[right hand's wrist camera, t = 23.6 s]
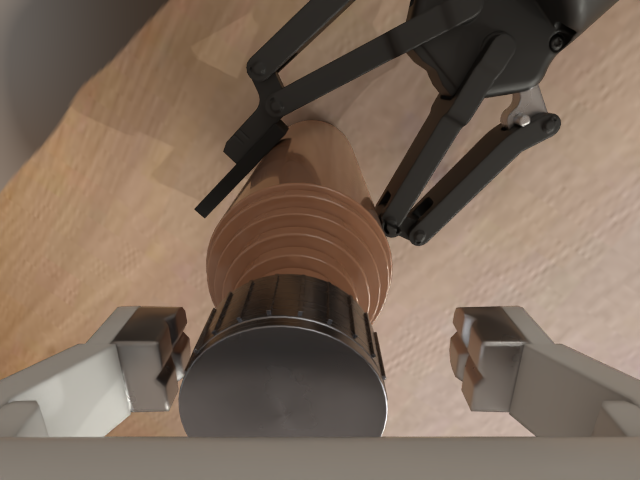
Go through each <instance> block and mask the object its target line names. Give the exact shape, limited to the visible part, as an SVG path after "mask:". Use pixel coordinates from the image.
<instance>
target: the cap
mask: <svg viewBox="0 0 640 480" xmlns="http://www.w3.org/2000/svg"><path fill="white" fill-rule="evenodd" d="M184 374H185V376H184V378H183V381H182V384H181V387H180V393H179V413H180V417H181V422H182V424H183V427H184V430H185V432H186V434H187V435H188V437H381V436H382V433H383V431H384V428H385V425H386V420H387V412H388V404H387V400H388V399H387V394H386V389H385V384H384V380H385V379H386V376H385V371H384V366H383V361H382V356H381V351H380V346H379V342H378V337H377V332H374V331H373V328H372V325H371V323H370V320H369V315H368V313H367V312H364V310H363V309H362V307H361V306H360V305H359V304H358V303H357V302H356V301H355V300H354V299H353V296H352V295H351V294H350V295H349V294H347V293H346V292H345V291H343V290H341V289H340V288H338V287H337V286H335V285H333V284H331V282H329V281H328V282H327V281H324V280H321V279H318V278H315V277H311V276H306V275H304V274H302V275H298V274H275V275H270V276H265V277H262V278H258V279H255V280H253V279H252V280H249V282H248V283H245V284H244V285H242V286H240V287H238V288H237V289H235V290H234V291H233V292H231V291H230V292H228V294H227V296H226V297H225V298H224V299H223V300H222V301H221V302H220V304H219V305H218V307H217V308H216V309H215V308H213V310H212V311H211V314H210V316H209V318H208V320H207V322H206V324H205V327H204V329H203V331H202V333H201V335H200V337H199V339H198V342H197V344H196V346H195V348H194V350H193V353H192V355H191V357H190V359H189V362H188V364H187V366H186V368H185V370H184Z"/></svg>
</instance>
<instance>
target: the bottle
mask: <svg viewBox="0 0 640 480" xmlns="http://www.w3.org/2000/svg"><path fill="white" fill-rule="evenodd" d="M288 128H289V129H288V131H287V133H286V135H285V136H284V137H283V138H282V139H281V140H280V141H279V142H278V143H277V144H276V145H275V146H274V147H273V148H272V149H271V150H270V151H269V152H268V153H267V154H266V155H265V156H264V157H263V159H262V160H261V162H260V163H259V165H258V166H257V168H256V169H255V171H254V172H253V173H252V175H251V176H250V178H249V179H248V181H247V182H246V184H245V185H244V187H243V188H242V190H241V191H240V192H239V194H238V195H237V197H236V198H235V200H234V201H233V203H232V204H231V206H230V207H229V209H228V210H227V211H226V213H225V214H224V216H223V217H222V219H221V220H220V222H219V223H218V225H217V227H216V228H215V230H214V232H213V235H212V237H211V239H210V243H209V246H208V250H207V258H206V272H207V281H208V287H209V292H210V295H211V298H212V301H213V303H214V306H215V308H217V307H218V305H219V304H220V302H221V301H222V300H223V299H224V298H225V297H226V296H227V294H228V292H230V291H231V292H233V291H234V290H235V289H237V288H238V287H240V286H242V285H244V284H245V283H248V282H249V280H252V279H253V280H255V279H258V278H262V277H265V276H270V275H275V274H298V275H302V274H304V275H306V276H311V277H315V278H318V279H321V280H324V281H327V282H328V281H329V282H331V284H333V285H335V286H337V287H338V288H340V289H341V290H343V291H345V292H346V293H347V294H349V295H350V294H351V295H352V296H353V299H354V300H355V301H356V302H357V303H358V304H359V305H360V306H361V307H362V309H363V310H364V312H367V313H368V315H369V320H370V323H371V325H372V324H373V323H374V322H375V320H376V319H377V317H378V316H379V314H380V312H381V310H382V308H383V306H384V304H385V301H386V298H387V295H388V292H389V289H390V286H391V280H392V266H393V264H392V256H391V251H390V247H389V244H388V241H387V238H386V236H385V233H384V230H383V228H382V225H381V223H380V220H379V217H378V215H377V212H376V209H375V207H374V204H373V202H372V199H371V196H370V194H369V191H368V188H367V186H366V183H365V181H364V178H363V175H362V173H361V170H360V167H359V165H358V162H357V160H356V157H355V154H354V152H353V149H352V147H351V144H350V142H349V141H348V139H347V138H346V137H345V135H344V134H343V133H342V132H341V131H340V130H339V129H337V128H336V127H334V126H333V125H331V124H329V123H326V122H323V121H318V120H305V121H300V122H297V123H295V124H293V125H291V126H289V127H288Z"/></svg>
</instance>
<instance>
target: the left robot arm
mask: <svg viewBox="0 0 640 480" xmlns="http://www.w3.org/2000/svg"><path fill="white" fill-rule="evenodd" d="M354 1H355V0H310V1H309V2H308V3H307V4H306V5H305V6H304V7H303V8H302V9H301V10H300V11H299V12H298V13H297V14H296V15H294V16H293V17H292V18H291V19H290V20H289V21H288V22H287V23H286V24H285V25H284V26H283V27H282V28H281V29H280V30H279V31H278V32H277V33H276V34H275V35H274V36H273V37H272V38H271V39H270V40H269V41H268V42H267V43H266V44H265V45H264V46H263V47H261V48H260V49H259V50H258V51H257V52H256V53H255V54H254V55H253V56H252V57H251V58H250V59H249V61H248V62H247V67H246V68H247V73H248V75H249V77H250V78H251V79H252V81H253V83H254V85H255V87H256V89H257V91H258V93H259V97H260V102H259V106H258V108H257V109H256V111H255V112H254V113H253V114H252V115H251V116H250V117H249V118H248V119H247V121H246V122H245V123H244V124H243V125H242V126H241V127H240V128H239V129H238V130H237V131H236V133H235V134H234V135H233V136H232V137H231V138H230V139H229V140H228V141H227V142H226V145H225V148H224V151H223V152H224V153H225V154H226V155H227V156H229V157H230V158H231V159H232V160H233V161H234V162H235V163H236V165H235V166H234V168H233V169H232V170H231V171H230V172H229V173H228V174H227V175H226V176H225V177H224V178H223V179H222V180H221V181H220V182H219V183H218V184H217V186H216V187H215V188H214V189H213V190H212V191H211V192H210V193H209V194H208V195H207V196H206V197H205V198H204V199H203V200H202V201H201V203H200V204H199V205H198V206H197V207H196V208H195V210H196V211H197V212H198V213H199V214H200V215H201V216H203V217H204V218H206V217H207V216H208V215H209V213H210V212H211V211H212V210H213V209H214V208H215V207H216V206H217V205H218V204H219V203H220V202H221V201H222V200H223V199H224V198H225V197H226V196H227V195H228V194H229V193H230V192H231V191H232V190H233V189H234V188H235V186H236V185H237V184H238V183H239V182H240V181H241V180H242V179H243V178H244V177H245V176H246V175H247V174H248V173H249V172H250V171H251V170H252V169H253V168H254V167H255V166H256V165H257V164H258V163H259V162H260V161H261V159H262V158H263V157H264V156H265V155H266V154H267V153H268V152H269V151H270V150H271V149H272V148H273V147H274V146H275V145H276V144H277V143H278V142H279V141H280V140H281V139H282V138H283V137H284V136H285V135H286V133H287V131H288V129H289V128H288V127H287V126H286V125H285V124H284V123H283V122H282V120H281V118H282V117H283V116H285V115H287V114H288V113H290V112H292V111H294V110H296V109H298V108H300V107H302V106H304V105H306V104H308V103H309V102H311V101H313V100H315V99H317V98H319V97H321V96H323V95H325V94H327V93H329V92H331V91H332V90H334V89H336V88H338V87H340V86H342V85H344V84H346V83H348V82H350V81H352V80H353V79H355V78H357V77H359V76H361V75H363V74H365V73H367V72H369V71H371V70H373V69H374V68H376V67H378V66H380V65H382V64H384V63H386V62H388V61H390V60H392V59H394V58H396V57H398V56H400V55H402V54H404V53H407V54H408V55H409V57H410V58H411V59H412V60H413V61H414V62H415V63H416V64H418V65H419V66H421V67H422V68H424V69H425V70H426V71H427V73H428V75H429V77H430V80H431V82H432V84H433V86H434V87H435V88H436V89H437V90H438V92H439V95H438V96H437V98H436V100H435V101H434V103H433V105H432V107H431V112H430V114H429V116H428V118H427V119H426V121H425V123H424V124H423V126H422V128H421V130H420V131H419V133H418V135H417V136H416V138H415V140H414V141H413V143H412V145H411V147H410V148H409V150H408V152H407V153H406V155H405V157H404V158H403V160H402V162H401V164H400V165H399V167H398V169H397V170H396V172H395V174H394V175H393V177H392V179H391V181H390V182H389V184H388V186H387V187H386V189H385V191H384V192H383V194H382V196H381V198H380V199H379V201H378V203H377V204H376V206H375V209H376V212H377V215H378V217H379V220H380V223H381V225H382V228H383V230H384V233H385V236H387V237H396V236H398V235H399V236H401V237H403V238H406V239H408V240H410V241H411V243H412V244H414V245H416V246H421V245H424V244H426V243H427V242H428V241H429V240H430V239H431V238H432V237H433V236H434V235H435V234H436V233H437V232H438V231H439V230H441V229H442V228H443V227H444V226H445V225H446V224H447V223H448V222H449V221H450V220H451V219H452V218H453V217H454V216H455V215H456V214H457V213H458V212H459V211H460V210H461V209H462V208H463V207H465V206H466V205H467V204H468V203H469V202H470V201H471V200H472V199H473V198H474V197H475V196H476V195H477V194H478V193H479V192H480V191H481V190H482V189H483V188H484V187H485V186H486V185H487V184H488V183H490V182H491V181H492V180H493V179H494V178H495V177H496V176H497V175H498V174H499V173H500V172H501V171H502V170H503V169H504V168H505V167H506V166H507V165H508V164H509V163H510V162H511V161H512V160H513V159H515V158H516V157H517V156H518V155H519V154H520V153H521V152H522V151H524V150H526V149H528V148H530V147H532V146H534V145H536V144H538V143H540V142H542V141H544V140H546V139H548V138H550V137H552V136H553V135H555V134H556V133H557V132H558V130H559V129H560V126H561V120H560V118H559V117H558V116H557V115H556V114H552V113H548V112H547V109H546V106H545V103H544V100H543V97H542V94H541V91H540V88H539V85H538V84H539V83H540V81H541V80H542V79H543V77H544V75H545V73H546V71H547V69H548V67H549V65H550V63H551V62H552V60H553V59H554V57H555V56H556V55H557V54H558V53H559V52H560V51H561V50H563V49H564V48H565V47H566V46H568V45H569V44H570V43H571V42H572V41H574V40H575V39H576V38H577V37H578V36H579V35H580V34H582V33H583V32H584V31H585V30H586V29H587V28H588V27H589V26H590V25H592V24H593V23H594V22H595V21H596V20H597V19H598V18H599V17H601V16H602V15H603V14H604V13H605V12H606V11H607V10H608V9H610V8H611V7H612V6H613V5H614V4H615V3H616V2H617V1H619V0H411V1H410V6H409V10H408V15H407V19H406V22H405V23H403V24H401V25H399V26H397V27H395V28H394V29H392V30H390V31H388V32H386V33H384V34H383V35H381V36H379V37H377V38H375V39H373V40H371V41H370V42H368V43H366V44H364V45H362V46H360V47H358V48H357V49H355V50H353V51H351V52H349V53H347V54H345V55H344V56H342V57H340V58H338V59H336V60H334V61H332V62H330V63H329V64H327V65H325V66H323V67H321V68H319V69H317V70H316V71H314V72H312V73H310V74H308V75H306V76H304V77H302V78H301V79H299V80H297V81H295V82H293V83H291V84H289V85H288V86H286V87H284V86H283V83H282V81H281V79H280V77H279V75H278V72H280V71H281V70H282V69H283V68H284V67H285V66H286V65H287V64H288V63H289V62H290V61H291V60H292V59H293V58H294V57H296V56H297V55H298V54H299V53H300V52H301V51H302V50H303V49H304V48H305V47H306V46H307V45H308V44H309V43H310V42H312V41H313V40H314V39H315V38H316V37H317V36H318V35H319V34H320V33H321V32H322V31H323V30H324V29H325V28H326V27H328V26H329V25H330V24H331V23H332V22H333V21H334V20H335V19H336V18H337V17H338V16H339V15H340V14H341V13H342V12H344V11H345V10H346V9H347V8H348V7H349V6H350V5H351V4H352V3H353V2H354ZM508 94H513V100H512V103H511V105H510V106H509V107H508V108H507V109H506V110H505V111H504V112H503V113H502V115H501V119H500V121H501V124H499V125H497V126H496V127H494V128H493V129H492V130H490V131H489V132H488V133H487V134H486V135H485V136H484V137H483V138H482V139H481V140H480V141H479V142H478V143H477V144H476V145H475V146H474V147H473V148H472V149H471V150H470V151H469V152H468V153H467V154H466V155H465V156H464V157H463V158H462V159H461V160H460V161H459V162H458V163H457V164H456V165H455V166H454V167H453V168H452V169H451V170H450V171H449V172H448V173H447V174H446V175H445V176H444V177H443V178H442V179H441V180H440V181H439V182H438V183H437V184H436V185H435V186H434V187H433V188H432V189H431V190H430V191H429V192H428V193H427V194H426V195H425V196H424V197H423V198H422V199H421V200H420V201H419V202H418V203H417V204H416V205H415V206H414V207H413V205H414V203H415V202H416V200H417V199H418V197H419V195H420V194H421V192H422V191H423V189H424V187H425V186H426V184H427V182H428V181H429V179H430V178H431V176H432V174H433V173H434V171H435V170H436V168H437V166H438V165H439V163H440V162H441V160H442V158H443V157H444V155H445V154H446V152H447V150H448V149H449V147H450V146H451V144H452V142H453V141H454V139H455V138H456V136H457V134H458V133H459V131H460V130H461V128H462V127H463V126H465V125H466V124H467V123H468V122H469V121H470V120H471V118H472V117H473V115H474V113H475V112H476V110H477V109H478V107H479V105H480V104H481V102H482V101H483V99H484V98H489V97H495V96H501V95H508ZM412 207H413V208H412ZM411 208H412V209H411Z"/></svg>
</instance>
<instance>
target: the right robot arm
mask: <svg viewBox="0 0 640 480" xmlns="http://www.w3.org/2000/svg"><path fill="white" fill-rule="evenodd" d="M186 324H187V319H186V313H185V310H184V309H183V308H182V307H155V306H142V307H141V306H121V307H117V309H116V310H115V311H114V312H113V313H112V314H111V315H110V316H109V318H108V319H107V320H106V321H105V322H104V323H103V324H102V325H101V327H100V328H99V329H98V330H97V331H96V332H95V333H94V334H93V336H92V337H91V338H90V339H89V340H88V341H87V342H86V343H85V344H77V345H75V346H73V347H71V348H68V349H66V350H64V351H62V352H60V353H58V354H56V355H53V356H51V357H49V358H47V359H45V360H43V361H41V362H38V363H36V364H34V365H32V366H30V367H28V368H25V369H23V370H21V371H19V372H17V373H15V374H13V375H10V376H8V377H6V378H4V379H2V380H0V480H640V380H638V379H636V378H634V377H632V376H629V375H627V374H625V373H623V372H621V371H619V370H617V369H614V368H612V367H610V366H608V365H606V364H604V363H602V362H599V361H597V360H595V359H593V358H591V357H589V356H587V355H584V354H582V353H580V352H578V351H576V350H574V349H572V348H569V347H567V346H565V345H563V344H555V343H554V342H553V341H552V340H551V339H550V338H549V337H548V336H547V334H546V333H545V332H544V331H543V330H542V329H541V328H540V327H539V325H538V324H537V323H536V322H535V321H534V320H533V319H532V318H531V316H530V315H529V314H528V313H527V312H526V311H525V310H524V308H522V307H520V306H497V307H460V308H456V310H455V313H454V318H453V324H454V326H455V328H456V330H457V332H456V333H455V334H454V335H453V336H452V337H451V340H450V349H449V351H450V362H451V366H452V370H453V372H454V375H455V377H457V378H458V379H459V380H461V381H462V382H463V383H462V392H463V395H464V397H465V399H466V401H467V403H468V405H469V408H470V410H471V411H482V412H509V414H510V415H511V416H512V417H513V418H515V419H516V420H517V421H518V422H519V423H521V424H522V425H523V426H524V427H525V428H527V429H528V430H529V431H530V432H531V433H533V434H534V435H535V436H536V437H104V436H105V435H106V434H108V433H109V432H110V431H111V430H112V429H114V428H115V427H116V426H117V425H118V424H120V423H121V422H122V421H123V420H124V419H126V418H127V417H128V416H129V415H130V414H131V412H157V411H169V410H170V408H171V405H172V403H173V401H174V399H175V397H176V395H177V392H178V383H177V382H178V381H179V380H181V379H182V378H183V377H184V376H185V374H184V370H185V368H186V366H187V364H188V362H189V359H190V340H189V337H188V336H187V335H186V334H185V333H184V332H183V330H184V328H185V326H186Z"/></svg>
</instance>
